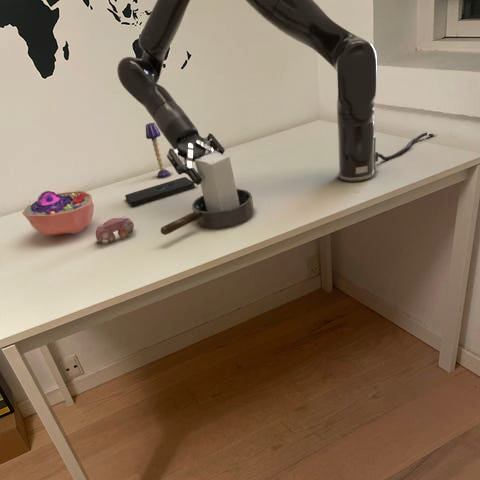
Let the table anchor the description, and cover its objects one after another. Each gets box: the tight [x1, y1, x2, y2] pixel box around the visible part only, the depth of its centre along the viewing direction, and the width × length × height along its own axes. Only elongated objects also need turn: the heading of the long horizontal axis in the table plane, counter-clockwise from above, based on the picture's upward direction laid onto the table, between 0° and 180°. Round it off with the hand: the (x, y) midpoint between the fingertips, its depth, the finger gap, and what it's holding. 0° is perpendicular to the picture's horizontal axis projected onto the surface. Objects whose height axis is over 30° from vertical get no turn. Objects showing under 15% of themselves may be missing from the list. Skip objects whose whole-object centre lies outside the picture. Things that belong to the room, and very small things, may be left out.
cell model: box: [21, 190, 95, 236], centre depth 128 cm, size 17×20×11 cm
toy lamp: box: [145, 122, 171, 179], centre depth 155 cm, size 5×5×17 cm
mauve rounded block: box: [95, 215, 135, 243], centre depth 120 cm, size 10×5×7 cm, turn 118°
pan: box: [191, 188, 255, 230], centre depth 122 cm, size 15×15×4 cm
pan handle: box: [160, 211, 202, 236], centre depth 114 cm, size 12×2×2 cm, turn 133°
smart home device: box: [124, 176, 196, 208], centre depth 145 cm, size 8×2×20 cm
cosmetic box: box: [194, 153, 240, 212], centre depth 119 cm, size 8×6×15 cm
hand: (213, 177), depth 118 cm, fingers open, 8 cm apart
